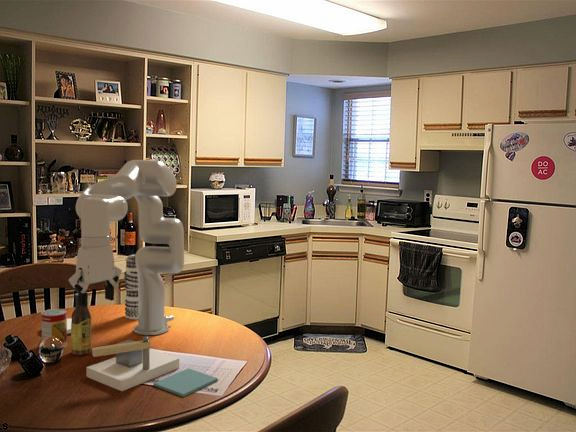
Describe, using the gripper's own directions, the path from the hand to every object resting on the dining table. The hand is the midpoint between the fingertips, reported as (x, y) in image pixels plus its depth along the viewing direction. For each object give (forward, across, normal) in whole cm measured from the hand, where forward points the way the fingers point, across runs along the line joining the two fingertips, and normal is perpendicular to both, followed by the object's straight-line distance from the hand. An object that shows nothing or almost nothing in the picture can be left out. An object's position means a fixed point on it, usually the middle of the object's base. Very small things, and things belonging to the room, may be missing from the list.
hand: (96, 302), depth 159 cm
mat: (+24, -16, +20) cm, 35 cm away
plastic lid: (+25, -22, -49) cm, 59 cm away
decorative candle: (+24, -50, -42) cm, 70 cm away
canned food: (+24, -10, -36) cm, 45 cm away
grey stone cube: (+21, -11, 0) cm, 24 cm away
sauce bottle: (+24, -12, -24) cm, 36 cm away
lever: (+15, -5, +5) cm, 16 cm away
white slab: (+24, -12, +2) cm, 27 cm away
